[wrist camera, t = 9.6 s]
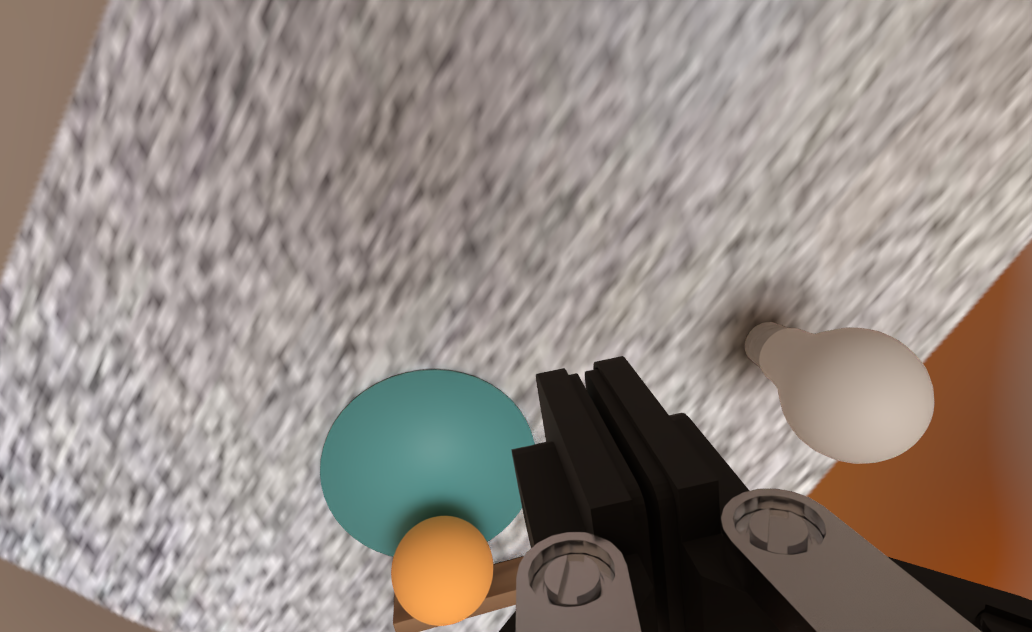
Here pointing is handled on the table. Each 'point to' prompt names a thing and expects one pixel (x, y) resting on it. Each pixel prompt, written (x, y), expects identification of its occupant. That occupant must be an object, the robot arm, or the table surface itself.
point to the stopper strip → (497, 598)
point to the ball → (442, 570)
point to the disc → (423, 457)
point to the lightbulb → (846, 389)
